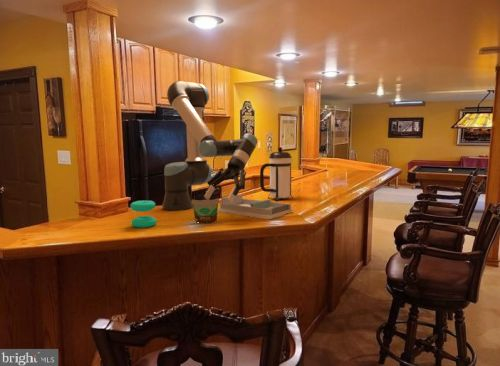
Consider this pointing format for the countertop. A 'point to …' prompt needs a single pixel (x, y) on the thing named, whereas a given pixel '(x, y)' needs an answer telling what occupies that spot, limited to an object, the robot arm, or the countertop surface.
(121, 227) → the countertop surface
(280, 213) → the pusher lane
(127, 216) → the countertop surface
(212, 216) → the food container
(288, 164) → the coffee press
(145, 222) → the donuts
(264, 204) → the pusher paddle
